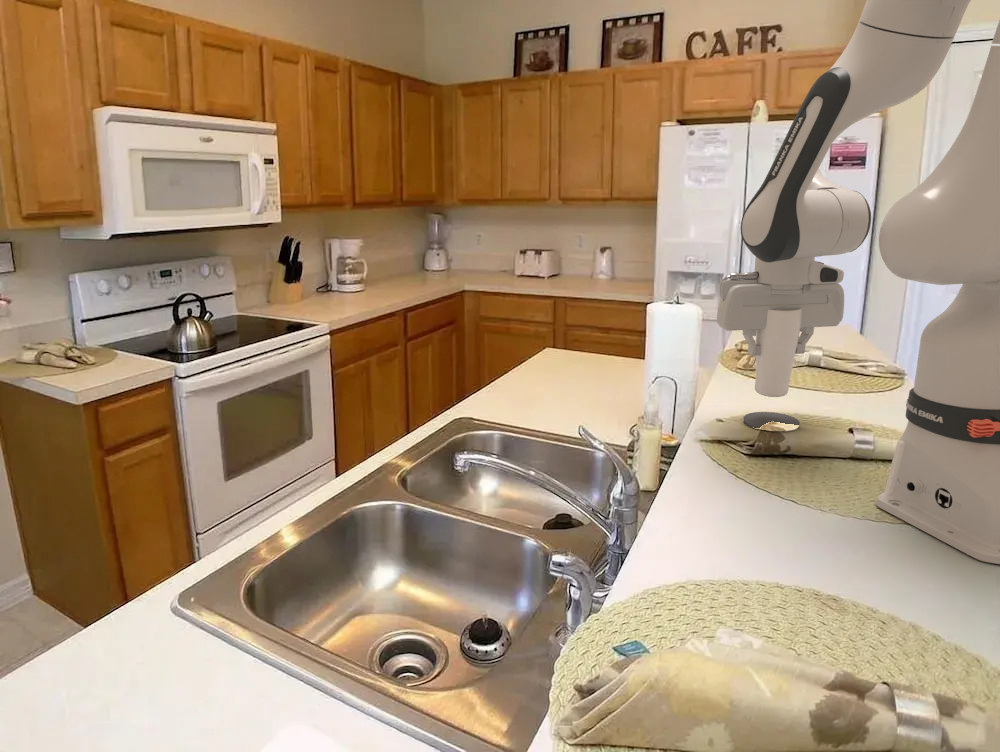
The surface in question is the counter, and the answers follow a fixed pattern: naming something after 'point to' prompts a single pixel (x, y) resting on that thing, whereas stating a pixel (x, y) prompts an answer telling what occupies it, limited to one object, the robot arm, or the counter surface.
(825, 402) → the counter surface
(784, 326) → the drinking glass
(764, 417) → the coaster
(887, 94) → the robot arm
